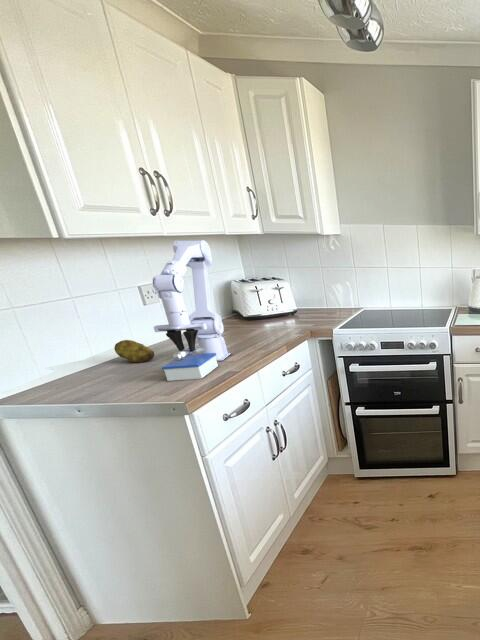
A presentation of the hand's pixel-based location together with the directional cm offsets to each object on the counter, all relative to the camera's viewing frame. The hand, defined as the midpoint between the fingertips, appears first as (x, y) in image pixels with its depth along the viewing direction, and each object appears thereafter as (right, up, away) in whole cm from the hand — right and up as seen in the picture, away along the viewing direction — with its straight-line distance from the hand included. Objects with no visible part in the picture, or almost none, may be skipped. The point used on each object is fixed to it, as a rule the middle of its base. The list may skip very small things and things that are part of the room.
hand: (187, 351), depth 142 cm
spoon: (0, -1, 0) cm, 1 cm away
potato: (-33, -3, +17) cm, 37 cm away
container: (0, -7, +3) cm, 8 cm away
